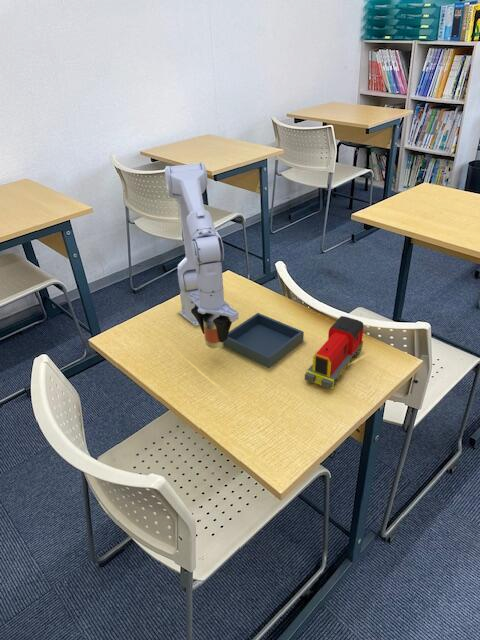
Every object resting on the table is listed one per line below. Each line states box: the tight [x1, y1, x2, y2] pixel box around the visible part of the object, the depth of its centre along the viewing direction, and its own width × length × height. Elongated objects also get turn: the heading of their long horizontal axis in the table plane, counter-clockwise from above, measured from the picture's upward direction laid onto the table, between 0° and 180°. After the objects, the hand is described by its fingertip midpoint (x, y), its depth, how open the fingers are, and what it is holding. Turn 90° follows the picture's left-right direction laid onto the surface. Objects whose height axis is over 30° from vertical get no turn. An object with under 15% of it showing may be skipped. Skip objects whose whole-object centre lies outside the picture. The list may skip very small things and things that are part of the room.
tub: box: [223, 312, 305, 369], centre depth 127 cm, size 16×15×4 cm
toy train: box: [304, 315, 364, 390], centre depth 116 cm, size 7×19×10 cm, turn 146°
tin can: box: [203, 313, 226, 349], centre depth 116 cm, size 5×5×7 cm
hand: (215, 336), depth 117 cm, fingers closed on tin can, 5 cm apart
